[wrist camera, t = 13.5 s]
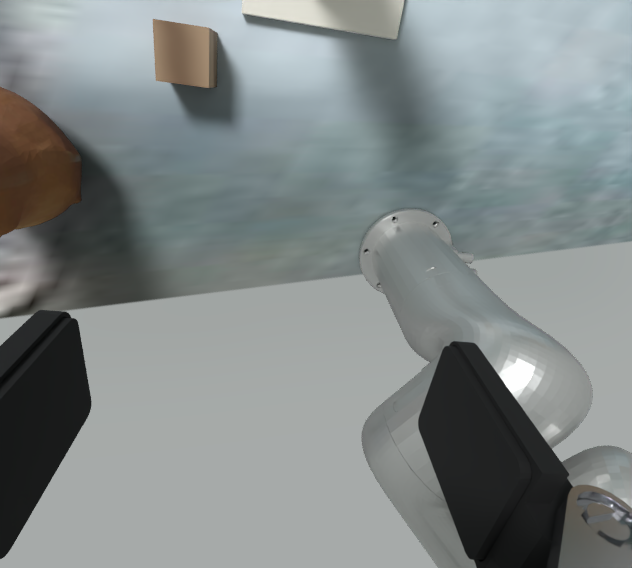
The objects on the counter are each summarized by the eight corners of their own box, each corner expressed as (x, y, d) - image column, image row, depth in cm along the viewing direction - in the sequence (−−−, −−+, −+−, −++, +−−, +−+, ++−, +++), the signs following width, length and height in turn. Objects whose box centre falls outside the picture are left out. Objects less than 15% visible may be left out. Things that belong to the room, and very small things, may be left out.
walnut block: (217, 33, 40) (209, 27, 36) (216, 86, 43) (208, 88, 38) (167, 25, 40) (152, 18, 35) (169, 80, 42) (155, 80, 38)
